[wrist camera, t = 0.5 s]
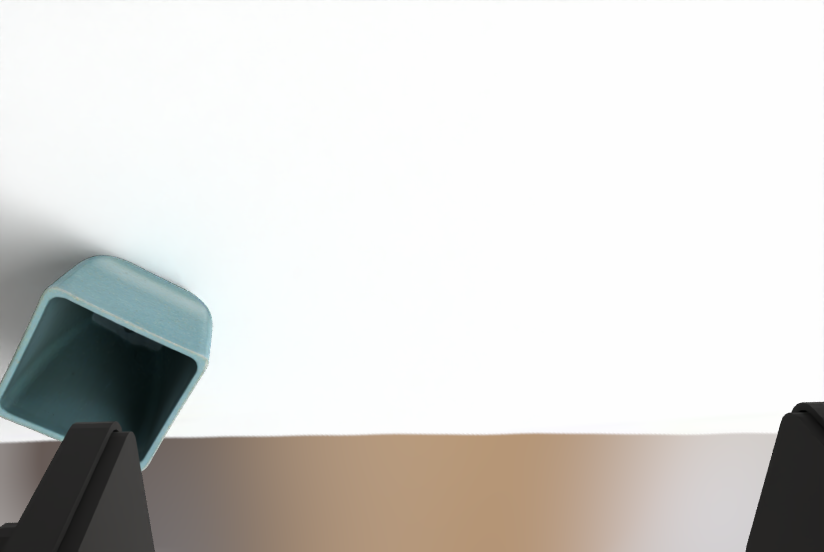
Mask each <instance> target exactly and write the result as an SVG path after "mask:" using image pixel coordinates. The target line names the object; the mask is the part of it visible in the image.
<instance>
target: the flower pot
mask: <svg viewBox="0 0 824 552" xmlns="http://www.w3.org/2000/svg"><path fill="white" fill-rule="evenodd" d="M211 337H212V317H211V314H210V312H209V310H208V308H207V307H206V305H205V304H204V303H203V302H202V301H201V300H200V299H199V298H198V297H196V296H195V295H193V294H192V293H190V292H189V291H187V290H185V289H183V288H181V287H179V286H177V285H175V284H173V283H171V282H168V281H166V280H164V279H162V278H160V277H158V276H156V275H154V274H152V273H150V272H148V271H146V270H144V269H142V268H140V267H138V266H136V265H134V264H132V263H130V262H128V261H126V260H122V259H120V258H116V257H112V256H104V255H101V256H94V257H91V258H88V259H85V260H83V261H82V262H80V263H79V264H77V265H76V266H74V267H73V268H72V269H70V270H69V271H68V272H67V273H65V274H64V275H63V276H62V277H60V278H59V279H58V280H57V281H55V282H54V283H53V284H52V285H50V286H49V287H48V288H47V289H45V291H44V292H43V294H42V296H41V298H40V300H39V302H38V305H37V307H36V309H35V311H34V314H33V316H32V318H31V320H30V322H29V325H28V327H27V329H26V331H25V333H24V336H23V338H22V340H21V342H20V344H19V346H18V348H17V350H16V352H15V354H14V356H13V359H12V360H11V363H10V365H9V367H8V369H7V371H6V373H5V375H4V377H3V379H2V381H1V383H0V417H2V418H4V419H7V420H9V421H12V422H14V423H16V424H19V425H22V426H25V427H27V428H29V429H32V430H34V431H37V432H39V433H42V434H44V435H46V436H48V437H51V438H54V439H56V440H59V441H61V442H62V441H63V439H64V437H65V435H66V434H67V432H68V430H69V428H70V427H71V426H72V424H74V423H76V422H107V421H116V422H118V423H119V424H120V426H121V428H122V432H128V431H131V432H133V433H134V435H135V438H136V443H137V449H138V455H139V461H140V467H141V471H142V470H144V469H145V468H146V467H147V466H148V465H149V463H150V461H151V459H152V458H153V456H154V454H155V452H156V451H157V449H158V447H159V445H160V444H161V442H162V440H163V439H164V437H165V435H166V434H167V432H168V430H169V429H170V427H171V425H172V423H173V422H174V420H175V418H176V417H177V415H178V414H179V412H180V410H181V409H182V407H183V406H184V404H185V402H186V401H187V399H188V397H189V396H190V394H191V393H192V391H193V390H194V388H195V386H196V385H197V383H198V381H199V380H200V378H201V377H202V375H203V374H204V372H205V370H206V369H207V366H208V363H209V354H210V346H211Z"/></svg>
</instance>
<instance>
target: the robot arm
mask: <svg viewBox="0 0 824 552" xmlns="http://www.w3.org/2000/svg"><path fill="white" fill-rule="evenodd" d="M0 552H155V550H154V545H153V539H152V533H151V526H150V521H149V514H148V509H147V503H146V496H145V490H144V484H143V479H142V473H141V467H140V461H139V455H138V449H137V443H136V438H135V435H134V433H133V432H131V431H128V432H122V428H121V426H120V424H119V423H118V422H116V421H107V422H76V423H74V424H72V426H71V427H70V428H69V430H68V432H67V434H66V435H65V437H64V439H63V441H62V443H61V445H60V447H59V449H58V450H57V452H56V454H55V456H54V458H53V460H52V461H51V463H50V465H49V467H48V469H47V470H46V472H45V474H44V476H43V478H42V480H41V481H40V484H39V485H38V487H37V489H36V491H35V492H34V494H33V496H32V498H31V500H30V502H29V504H28V505H27V507H26V509H25V511H24V513H23V514H22V516H21V518H20V520H19V522H18V523H5V524H4V525H2V526H1V527H0ZM746 552H824V402H802V403H799V404H797V405H796V406H795V407H794V408H793V410H792V412H791V413H787V414H785V416H784V417H783V418H782V421H781V424H780V427H779V431H778V435H777V438H776V442H775V446H774V449H773V453H772V456H771V460H770V463H769V467H768V471H767V474H766V478H765V482H764V485H763V489H762V492H761V496H760V500H759V503H758V507H757V510H756V514H755V518H754V521H753V525H752V528H751V532H750V536H749V539H748V543H747V547H746Z"/></svg>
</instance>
